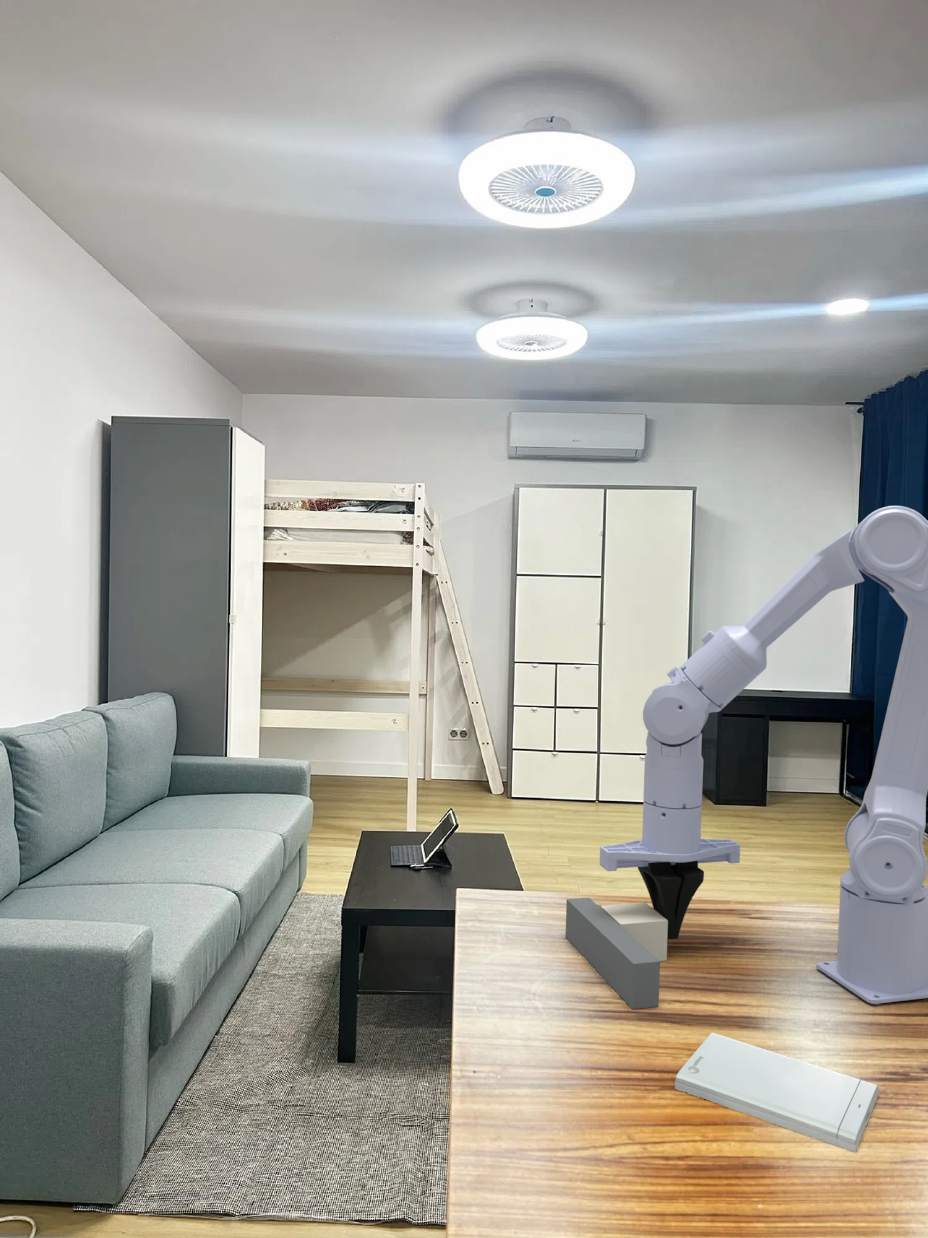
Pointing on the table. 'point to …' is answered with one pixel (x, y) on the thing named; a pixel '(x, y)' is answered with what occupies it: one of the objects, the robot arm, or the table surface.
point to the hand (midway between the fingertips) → (667, 935)
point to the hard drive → (780, 1090)
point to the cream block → (642, 926)
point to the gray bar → (613, 953)
